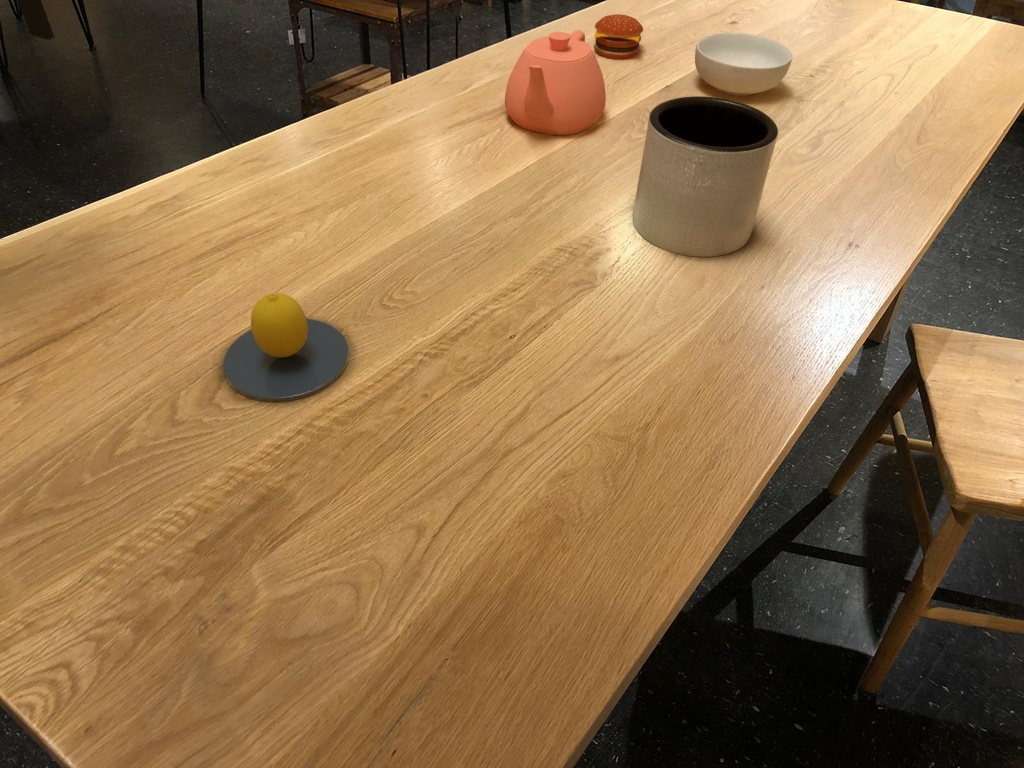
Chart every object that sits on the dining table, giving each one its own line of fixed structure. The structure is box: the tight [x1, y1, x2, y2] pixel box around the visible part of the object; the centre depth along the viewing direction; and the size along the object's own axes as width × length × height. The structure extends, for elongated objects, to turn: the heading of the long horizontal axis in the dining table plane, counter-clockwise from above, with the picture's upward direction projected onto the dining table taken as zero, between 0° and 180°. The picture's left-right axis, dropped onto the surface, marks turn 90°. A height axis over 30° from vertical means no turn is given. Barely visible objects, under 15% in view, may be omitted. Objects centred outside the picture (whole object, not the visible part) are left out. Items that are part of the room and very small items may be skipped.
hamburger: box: [593, 13, 644, 60], centre depth 151 cm, size 9×10×7 cm
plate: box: [222, 318, 350, 403], centre depth 82 cm, size 13×13×2 cm
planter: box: [632, 95, 779, 258], centre depth 99 cm, size 16×16×16 cm
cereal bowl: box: [694, 32, 793, 97], centre depth 139 cm, size 17×17×7 cm
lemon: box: [250, 292, 308, 357], centre depth 79 cm, size 6×6×8 cm
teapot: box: [504, 30, 607, 136], centre depth 125 cm, size 25×17×13 cm
